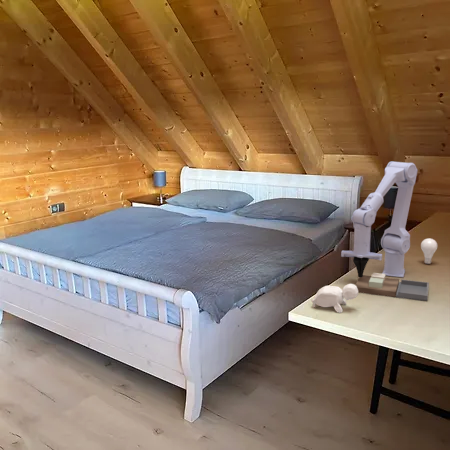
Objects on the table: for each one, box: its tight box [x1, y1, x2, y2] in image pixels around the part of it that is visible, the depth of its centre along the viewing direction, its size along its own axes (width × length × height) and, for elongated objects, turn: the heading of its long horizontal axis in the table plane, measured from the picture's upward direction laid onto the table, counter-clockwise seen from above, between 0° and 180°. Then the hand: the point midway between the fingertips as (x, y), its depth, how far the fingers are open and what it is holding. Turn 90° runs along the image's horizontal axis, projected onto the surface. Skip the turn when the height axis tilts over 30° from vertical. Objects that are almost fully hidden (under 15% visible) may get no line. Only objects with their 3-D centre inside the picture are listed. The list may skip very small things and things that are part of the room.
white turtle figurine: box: [311, 283, 359, 314], centre depth 157 cm, size 9×8×15 cm
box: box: [395, 279, 430, 302], centre depth 169 cm, size 14×10×2 cm
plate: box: [355, 274, 400, 298], centre depth 174 cm, size 14×14×2 cm
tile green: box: [369, 278, 384, 288], centre depth 171 cm, size 4×4×2 cm
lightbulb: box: [420, 237, 438, 265], centre depth 199 cm, size 6×6×11 cm
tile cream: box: [370, 272, 386, 281], centre depth 176 cm, size 4×4×2 cm
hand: (360, 276), depth 179 cm, fingers closed
